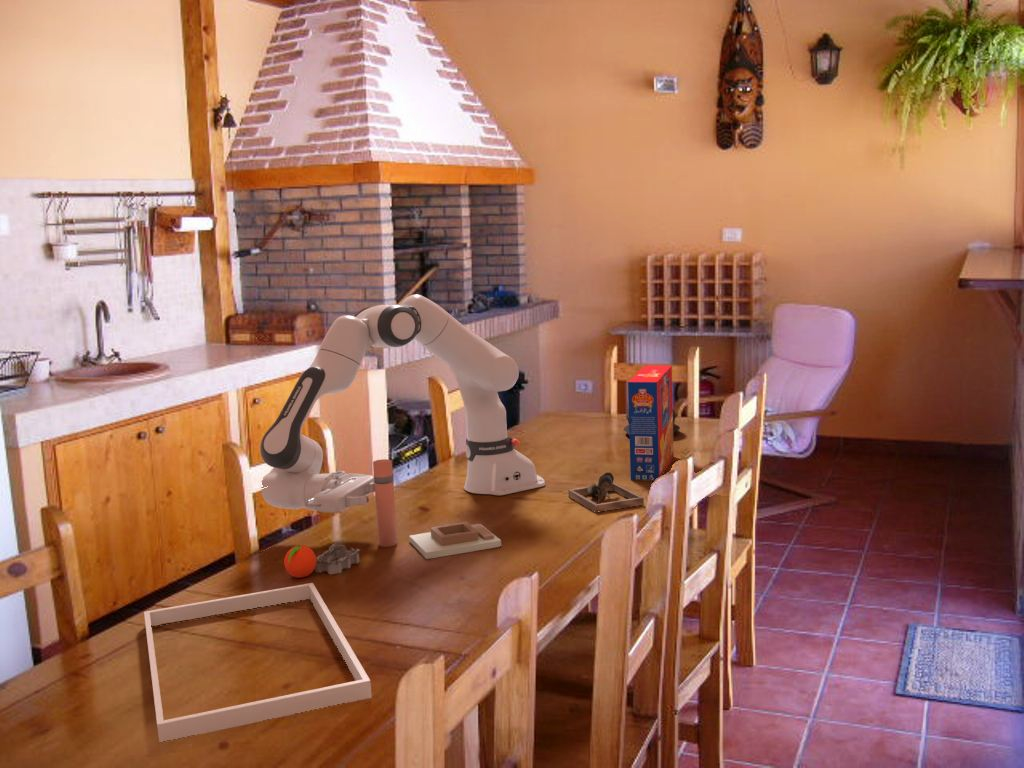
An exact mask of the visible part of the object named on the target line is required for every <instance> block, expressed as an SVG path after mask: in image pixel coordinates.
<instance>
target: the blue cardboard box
mask: <svg viewBox="0 0 1024 768" xmlns="http://www.w3.org/2000/svg"><path fill="white" fill-rule="evenodd" d="M627 392H628V393H627V394H628V395H627V396H628V410H629V423H628V425H629V435H628V436H629V461H630V463H629V467H630V468H629V469H630V471H629V472H630V481H635V480H649V481H648V482H655V481H654V480H655V479H656V478H658V477H660V476H661V475H662V474H663V475H664V474H665V472H666V471H667V469H668V467H669V466H668V465H670V464H671V462H672V460H673V459H674V457H675V455H674V450H675V449H674V432H673V409H674V407H673V367H672V365H643V367H641V368H640V370H639V371H638V372H637V373H635V374H634V375H633V376H632V378H631V379H629V380H628V382H627ZM666 468H667V469H666ZM665 470H666V471H665ZM664 471H665V472H664ZM663 472H664V473H663ZM653 478H654V479H653ZM652 479H653V480H652ZM651 480H652V481H651Z"/></svg>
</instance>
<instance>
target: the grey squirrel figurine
mask: <svg viewBox="0 0 1024 768" xmlns="http://www.w3.org/2000/svg"><path fill="white" fill-rule="evenodd" d="M614 479H615V477H614V475H613V473H611V472H605V473H604V474H602V475H601V476H600V477H599V478H598V483H597V485H596V483H591V484H590V485H588V486H587V487H588V489H587V491H588V492H589V493H591V495H594V496H595V497H598V501H597V502H599V503H600V502H601V501H602V500H603V498H604V497H605V498H608V499H609V498H610V499H611V497H610V494H609V492H608V491H610V490H611V488H612V486H611V487H610V488H609V489H607V490H605V489H606V487H608V486H609V485H611V484H612V483H614Z"/></svg>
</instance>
